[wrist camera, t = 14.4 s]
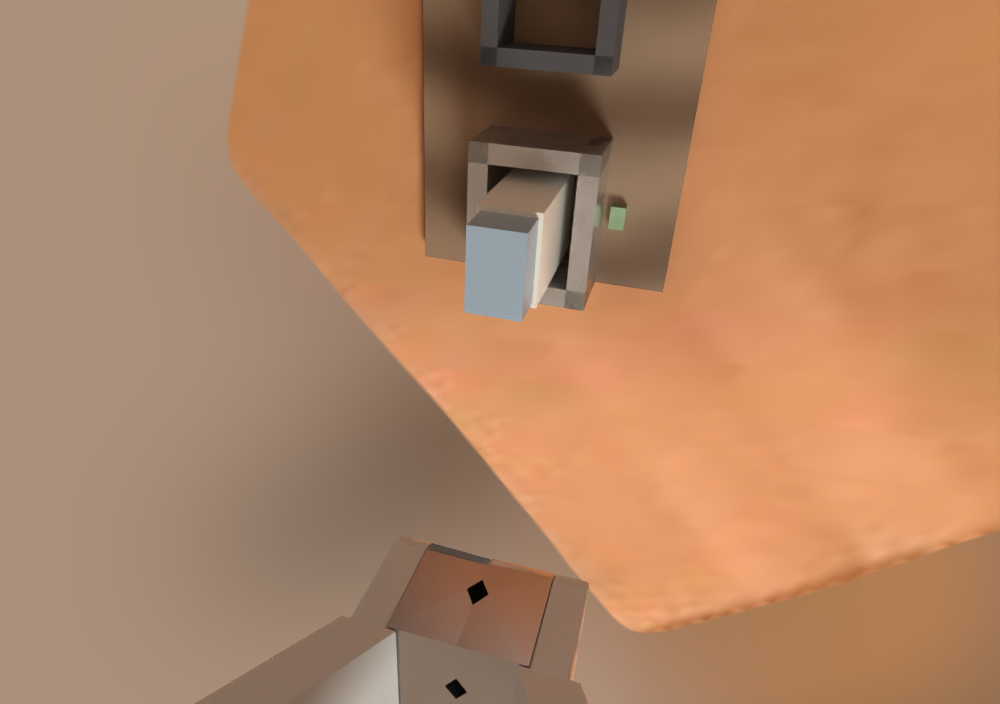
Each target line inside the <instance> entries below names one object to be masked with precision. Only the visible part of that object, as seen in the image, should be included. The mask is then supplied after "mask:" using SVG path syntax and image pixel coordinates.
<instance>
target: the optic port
mask: <svg viewBox="0 0 1000 704" xmlns="http://www.w3.org/2000/svg"><path fill="white" fill-rule="evenodd" d="M612 143H613V138H609V137H599V136H590V135H581V134H571V133H562V132H552V131H543V130H533V129H524V128H515V127H505V126H496V125H491V126H490V127H488V128H487V129H485V130H484V131H482V132H481V133H479V134H478V135H476V136H475V137H473V138H472V139H470V140H469V141H468V185H467V224H468V223H469V222H470V221H471V220H472V219H473V218H474V217H475V216H476V204H477V203H478V202H479V201H480V200H481V199H482V198H483V197H484V196H486V195H487V194H488V193H489V192H490V191H491V190H492V189H493V188H494V187H495V186H496V185H497V184H498V183H499V182H500V181H501V180H502V179H503V178H504V177H505V176H506V175H507V174H508V167H515V168H523V169H531V170H540V171H548V172H557V173H565V174H573V175H578V181H577V191H576V200H575V210H574V219H573V229H572V238H571V248H570V257H569V260H562V261H561V263H560V264H559V266H558V268H557V270H556V272H555V274H554V276H553V278H552V279H551V281H550V283H549V285H548V287H547V289H546V291H545V293H544V295H543V296H542V298H541V300H540V302H539V304H544V305H551V306H557V307H563V308H569V309H575V310H582V311H583V310H584V308H585V305H586V302H587V300H588V297H589V295H590V292H591V289H592V287H593V284H594V282H595V275H596V268H597V260H598V252H599V244H600V236H601V228H602V221H603V213H604V205H605V197H606V189H607V182H608V174H609V166H610V158H611V150H612ZM626 212H627V205H620V204H612V205H611V210H610V217H609V225H608V229H614V230H621V231H623V229H624V226H625V219H626Z"/></svg>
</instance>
